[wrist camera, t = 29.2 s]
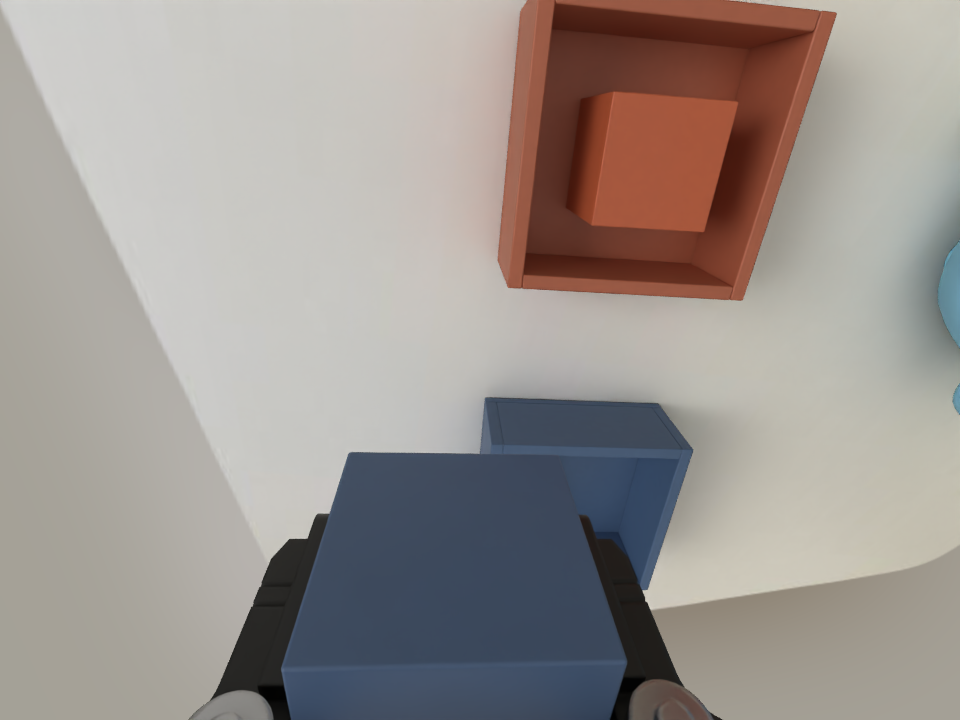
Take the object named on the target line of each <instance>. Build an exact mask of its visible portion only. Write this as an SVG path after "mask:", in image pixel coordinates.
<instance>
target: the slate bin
mask: <svg viewBox="0 0 960 720" xmlns="http://www.w3.org/2000/svg"><path fill="white" fill-rule="evenodd" d="M692 453H693V449H692V447H691V446H690V445H689V444H688V442H687V441H686V440H685V438H684V437H683V436H682V434H681V433H680V432H679V430H678V429H677V428H676V426H675V425H674V424H673V423H672V421H671V420H670V419H669V417H668V416H667V415H666V413H665V412H664V411H663V409H661V407H660V405H659V404H653V403H624V402H596V401H567V400H539V399H510V398H485V404H484V415H483V426H482V437H481V447H480V454H535V455H558V456H559V458H560V461H561V464H562V467H563V470H564V473H565V476H566V479H567V482H568V485H569V488H570V491H571V494H572V497H573V500H574V503H575V506H576V509H577V512H578V515H587V516H588V517H589V519H590V521H591V524H592V527H593V530H594V532H595V535H596V538H597V539H612V540H613V541H614V542H615V543H616V544H617V545H618V547H619V548H620V549H621V550H622V551H623V552H624V553H625V554H626V555H627V557H628V558H629V560H630V563H631V565H632V568H633V570H634V572H635V575H636V577H637V582H638V584H640V587H641V589H642V590H648V587H649V584H650V581H651V578H652V575H653V571H654V568H655V565H656V562H657V559H658V556H659V553H660V550H661V547H662V544H663V541H664V538H665V535H666V532H667V529H668V526H669V523H670V520H671V517H672V514H673V511H674V508H675V505H676V502H677V499H678V495H679V492H680V489H681V486H682V483H683V480H684V477H685V474H686V471H687V468H688V465H689V462H690V459H691V456H692Z"/></svg>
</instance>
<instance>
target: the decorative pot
mask: <svg viewBox="0 0 960 720" xmlns="http://www.w3.org/2000/svg"><path fill="white" fill-rule="evenodd" d="M938 304H939V308H940V311H941V314H942V317H943V320H944V323H945V325H946V327H947V329H948V331H949V333H950V334H951V336H952V338H953V339H954V341H955V342H956V344H957V345H958V347H959V348H960V240H959V242H958V243H957V245H956V246H954V248H953V249H952V250H951V251H950V253H949V254H948V256H947V258H946V260H945V264H944V270H943V273H942V276H941V278H940V283H939V288H938ZM953 404H954V407H955V409H956V411H957V412H958V413H959V414H960V384H959V385H958V387H957V388H956V390H955V393H954V395H953Z"/></svg>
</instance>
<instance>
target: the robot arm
mask: <svg viewBox="0 0 960 720" xmlns="http://www.w3.org/2000/svg"><path fill="white" fill-rule="evenodd" d="M328 517H329V514H317V515H316V517H315V519H314V522H313V525H312V527H311V530H310V533H309V536H308V539H289V540H288V541H287V542H286V543H285V544H284V546H283V547H282V548H281V549H280V550H279V551H278V552H277V553H276V554H275V555H274V556H273V558H272V559H271V561H270V563H269V566H268V568H267V570H266V573H265V575H264V578H263V580H262V585H261V587H259V590H258V592H257V595H256V597H255V599H254V604H253V607H251V609H250V612H249V614H248V616H247V619H246V621H245V624H244V626H243V628H242V631H241V634H240V636H239V638H238V641H237V643H236V645H235V648H234V650H233V653H232V655H231V658H230V660H229V662H228V665H227V667H226V670H225V672H224V675H223V677H222V679H221V682H220V684H219V686H218V688H217V690H216V692H215V694H214V695H213V697H212V698H211V700H210V701H209V702H207V703H206V704H205V705H203V706H202V707H201V708H200V709H198V710H197V711H196V712H195V713H194V714H193V715H192V716H191V717H190V718H189V720H291V717H290V712H289V707H288V702H287V697H286V692H285V687H284V682H283V677H282V672H281V667H282V664H283V661H284V658H285V654H286V651H287V648H288V645H289V642H290V639H291V635H292V632H293V629H294V626H295V623H296V619H297V616H298V613H299V610H300V607H301V603H302V600H303V597H304V594H305V591H306V588H307V584H308V581H309V578H310V575H311V572H312V568H313V565H314V562H315V559H316V556H317V552H318V549H319V546H320V543H321V540H322V537H323V533H324V530H325V527H326V524H327V521H328ZM579 518H580V521H581V524H582V527H583V530H584V533H585V536H586V539H587V542H588V545H589V548H590V551H591V554H592V557H593V560H594V563H595V566H596V569H597V572H598V575H599V578H600V581H601V584H602V587H603V590H604V593H605V596H606V599H607V602H608V605H609V608H610V611H611V614H612V617H613V620H614V623H615V626H616V629H617V632H618V635H619V638H620V641H621V644H622V647H623V650H624V653H625V656H626V659H627V666H626V669H625V673H624V676H623V679H622V682H621V686H620V689H619V692H618V695H617V699H616V702H615V705H614V708H613V712H612V715H611V718H610V720H722V719H720V718H718V717H717V716H715V715H713V714H712V713H710V712H709V711H708V710H707V709H706V707H705V706H704V705H703V703H701V701H700V700H699V699H698V698H697V697H696V696H695V695H693V694H692V693H691V692H690V691H688V690H687V689H685V687H684V686H683V684H682V682H681V681H680V679H679V677H678V675H677V673H676V671H675V668H674V666H673V663H672V661H671V659H670V656H669V654H668V651H667V649H666V647H665V644H664V642H663V640H662V637H661V635H660V632H659V630H658V627H657V625H656V623H655V620H654V618H653V615H652V613H651V611H650V608H649V606H648V603H647V602H645V596H644V594H643V591H642V589H641V587H640V584H638V582H637V577H636V575H635V572H634V570H633V568H632V565H631V563H630V560H629V558H628V557H627V555H626V554H625V553H624V552H623V551H622V550H621V549H620V548H619V547H618V545H617V544H616V543H615V542H614V541H613V540H612V539H597V538H596V535H595V532H594V530H593V527H592V524H591V521H590V519H589V517H588V516H587V515H579Z"/></svg>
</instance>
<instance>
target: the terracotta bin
mask: <svg viewBox="0 0 960 720" xmlns="http://www.w3.org/2000/svg"><path fill="white" fill-rule="evenodd" d="M836 15H837V13H835V12H828V11H818V10H810V9H801V8H792V7H783V6H774V5H765V4H756V3H748V2H739V1H730V0H527V2H526V3H525V5H524V7H523V8H522V10H521V11H520V21H519V32H518V43H517V54H516V65H515V76H514V87H513V98H512V109H511V120H510V131H509V141H508V152H507V163H506V174H505V185H504V196H503V207H502V218H501V229H500V240H499V251H498V263H499V265H500V268H501V270H502V273H503V276H504V278H505V281H506V284H507V286H508V288H523V289H540V290H558V291H576V292H594V293H612V294H631V295H649V296H667V297H685V298H703V299H721V300H729V299H730V300H739V301H741V300H743V298H744V295H745V292H746V289H747V286H748V283H749V280H750V277H751V273H752V270H753V267H754V264H755V261H756V258H757V255H758V252H759V249H760V246H761V243H762V240H763V237H764V234H765V231H766V228H767V225H768V222H769V219H770V216H771V213H772V210H773V207H774V204H775V201H776V197H777V194H778V191H779V188H780V185H781V182H782V179H783V176H784V173H785V170H786V167H787V164H788V161H789V158H790V155H791V152H792V149H793V146H794V143H795V140H796V137H797V134H798V131H799V128H800V124H801V121H802V118H803V115H804V112H805V109H806V106H807V103H808V100H809V97H810V94H811V91H812V88H813V85H814V82H815V79H816V76H817V73H818V70H819V67H820V64H821V61H822V58H823V55H824V52H825V48H826V45H827V42H828V39H829V36H830V33H831V30H832V27H833V24H834V21H835V18H836ZM613 91H621V92H633V93H645V94H657V95H669V96H681V97H693V98H705V99H717V100H729V101H738V102H739V103H738V107H737V111H736V114H735V118H734V122H733V126H732V129H731V133H730V137H729V141H728V144H727V148H726V152H725V156H724V159H723V163H722V167H721V171H720V174H719V178H718V182H717V186H716V189H715V193H714V197H713V201H712V204H711V208H710V212H709V216H708V219H707V223H706V227H705V231H704V232H689V231H672V230H655V229H638V228H621V227H604V226H592V225H590V224H589V223H587V222H586V221H584V220H583V219H581V218H580V217H578V216H577V215H575V214H574V213H572V212H571V211H570V210H568V209H567V208H566V203H567V196H568V188H569V181H570V174H571V167H572V160H573V153H574V145H575V138H576V131H577V124H578V117H579V110H580V103H581V99H582V98H587V97H591V96H595V95H600V94H604V93H608V92H613Z"/></svg>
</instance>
